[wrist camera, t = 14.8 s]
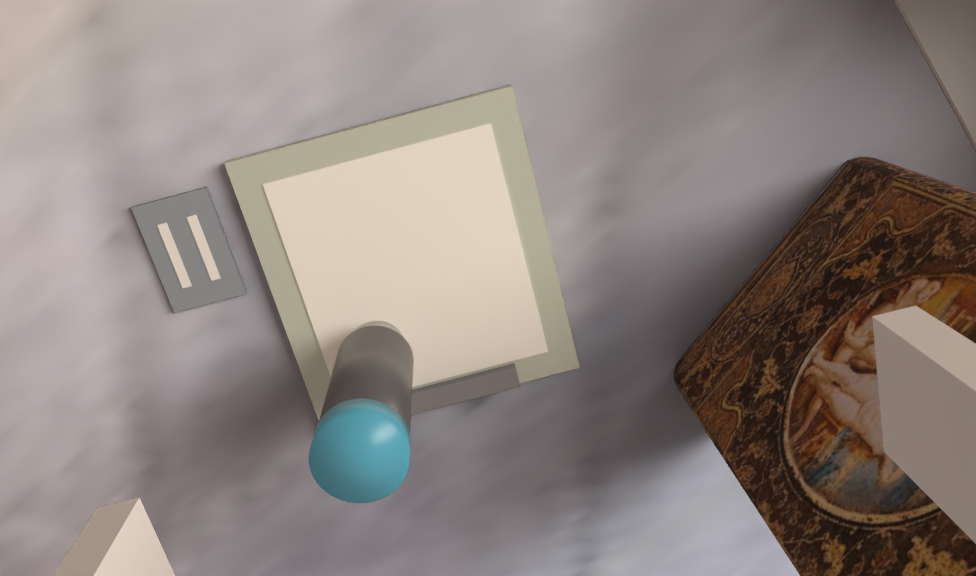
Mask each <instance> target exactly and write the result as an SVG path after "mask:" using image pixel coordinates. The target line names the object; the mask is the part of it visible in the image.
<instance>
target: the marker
mask: <svg viewBox="0 0 976 576" xmlns="http://www.w3.org/2000/svg"><path fill="white" fill-rule="evenodd" d="M413 364H414V358H413V353H412V350H411V347H410V345H409V343H408V342H407V341H406V339H405V338H404V337H403V335H402V333H401V332H400V331H399V330H398V329H397V328H396V327H395V326H394V325H392V324H390V323H388V322H384V321H370V322H367V323H365V324H363V325H361V326H360V327H359V328H357V330H355V331H353V332H352V333H350V334H349V335H348V336H347V337H346V338H345V339H344V341H343V342H342V343H341V345H340V347H339V350H338V354H337V357H336V361H335V365H334V368H333V372H332V375H331V379H330V383H329V386H328V390H327V394H326V397H325V401H324V405H323V408H322V412H321V416H320V419H319V422H318V424H317V427H316V430H315V433H314V437H313V440H312V444H311V448H310V452H309V465H310V469H311V472H312V475H313V477H314V479H315V480H316V482H317V483H318V484H319V486H320V487H321V488H322V489H323V490H325V491H326V492H327V493H329V494H330V495H332V496H334V497H335V498H338V499H340V500H343V501H347V502H352V503H368V502H373V501H377V500H380V499H382V498H384V497H386V496H388V495H390V494H391V493H392V492H394V491H395V490H396V489H397V488H398V487H399V486H400V485H401V483H402V482H403V481H404V479H405V477H406V475H407V472H408V469H409V462H410V443H411V440H410V421H411V402H412V383H413Z"/></svg>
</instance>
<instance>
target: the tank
mask: <svg viewBox="0 0 976 576" xmlns="http://www.w3.org/2000/svg"><path fill="white" fill-rule="evenodd" d="M894 2H895V4H896V6H897V7H898V9H899V11H900V13H901V15H902V17H903V18H904V20H905V22H906V24H907V26H908V27H909V29H910V31H911V33H912V35H913V37H914V38H915V40H916V42H917V44H918V46H919V48H920V49H921V51H922V53H923V55H924V57H925V59H926V60H927V62H928V64H929V66H930V68H931V70H932V71H933V73H934V75H935V77H936V79H937V81H938V82H939V84H940V86H941V88H942V90H943V92H944V93H945V95H946V97H947V99H948V101H949V103H950V104H951V106H952V108H953V110H954V112H955V114H956V115H957V117H958V119H959V121H960V123H961V125H962V126H963V128H964V130H965V132H966V134H967V136H968V137H969V139H970V141H971V143H972V145H973V147H974V148H975V150H976V0H894Z"/></svg>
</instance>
